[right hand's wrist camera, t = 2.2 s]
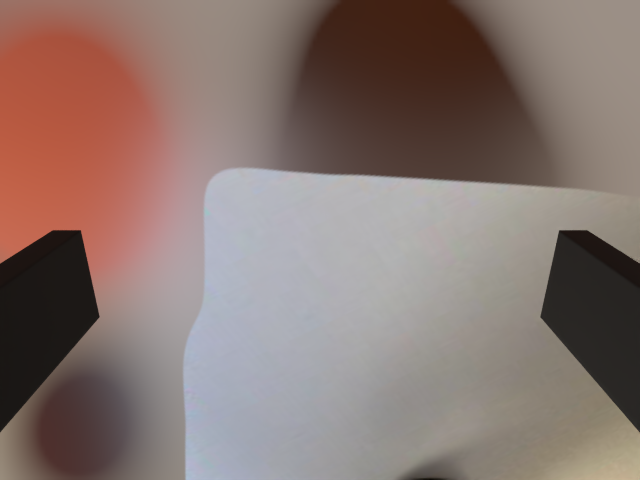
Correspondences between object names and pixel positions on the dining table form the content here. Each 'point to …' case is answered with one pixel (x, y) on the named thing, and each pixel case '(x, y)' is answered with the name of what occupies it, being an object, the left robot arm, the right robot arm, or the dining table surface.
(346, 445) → the dining table surface
